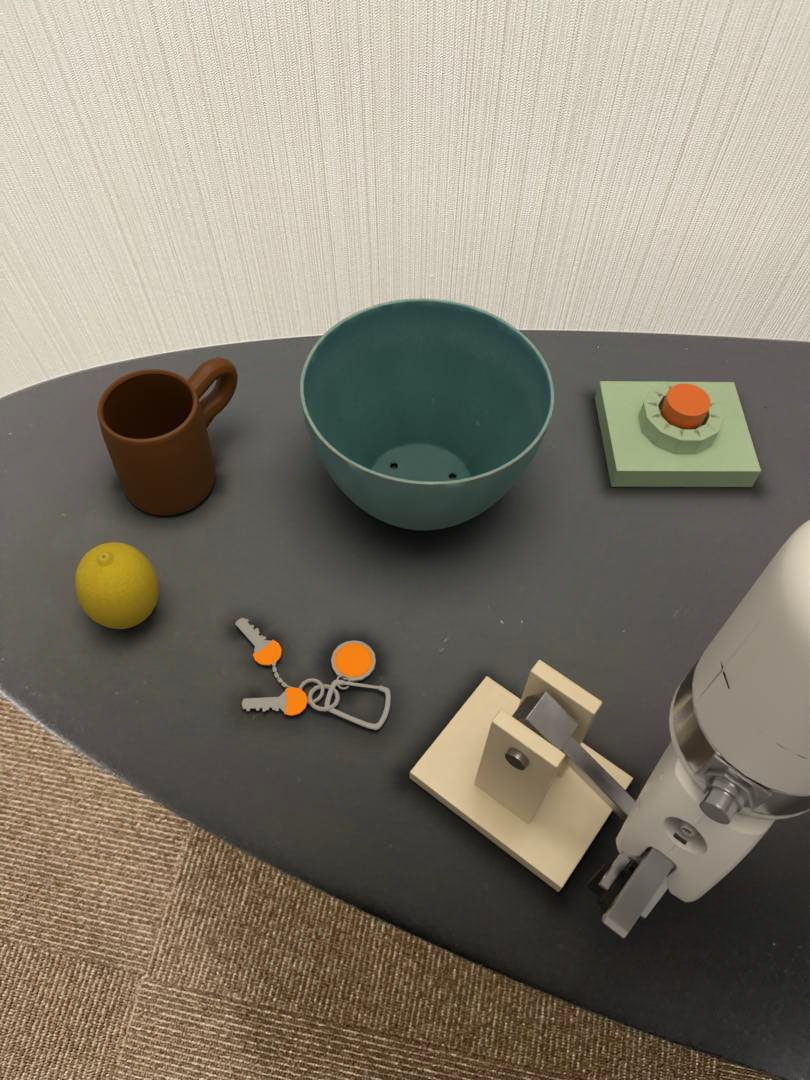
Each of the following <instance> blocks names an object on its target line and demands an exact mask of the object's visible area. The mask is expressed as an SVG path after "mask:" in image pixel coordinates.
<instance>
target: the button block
mask: <svg viewBox="0 0 810 1080" xmlns="http://www.w3.org/2000/svg"><path fill="white" fill-rule="evenodd" d="M682 383H686V384H692V385H695V386H698V387H700V388H701V389H703V390H704V391H705V392H706V393H707V394H708V396H709V398H710V402H711V404H710V408H709V410H708V412H707V415H706V417H705V419H704V421H703V423H702V424H701V425H700V426H699V427H697V428H695V429H680V428H678V427H675V426H673V425H670V424H669V423H668V422H667V421H666V420H665V419H664V418H663V416H662V413H661V408H662V405H663V402H664V400H665V397H666V395H667V392H668V390H669V389H670V388H671V387H673V386H674V385H677V384H682ZM594 403H595V408H596V412H597V418H598V424H599V428H600V429H599V430H600V435H601V439H602V440H601V441H602V446H603V450H604V455H605V462H606V467H607V471H608V479H609V482H610V486H611V488H615V487H616V488H753V486H754V484H755V483H756V482H757V479H758V478H759V476H760V474H761V473H762V469H761V465H760V463H759V459H758V456H757V452H756V450H755V446H754V443H753V440H752V436H751V433H750V429H749V427H748V423H747V420H746V417H745V413H744V409H743V406H742V403H741V400H740V397H739V393H738V391H737V387H736V384H735V382H734V381H645V380H643V381H641V380H640V381H637V380H636V381H635V380H632V381H631V380H630V381H627V380H625V381H624V380H622V381H621V380H620V381H619V380H600V381H599V383H598V385H597V388H596V391H595V395H594Z"/></svg>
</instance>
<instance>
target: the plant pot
mask: <svg viewBox="0 0 810 1080" xmlns="http://www.w3.org/2000/svg"><path fill="white" fill-rule="evenodd" d="M554 388H555V387H554V383H553V377H552V374H551V372H550V369H549V366H548V364H547V362H546V360H545V358H544V357H543V355H542V353H541V352H540V351H539V349H538V348H537V347H536V345H534V343H533V342H532V341H531V340H530V339H529V338H528V337H527V336H526V335H525V334H524V333H523V332H521V331H520V330H519V329H518V328H516V327H515V326H514V325H512V324H511V323H509V322H508V321H506V320H505V319H503V318H501V317H499V316H498V315H495V314H493V313H491V312H489V311H486V310H485V309H481V308H478V307H476V306H473V305H469V304H465V303H461V302H457V301H453V300H448V299H438V298H420V297H419V298H404V299H396V300H390V301H386V302H382V303H378V304H374V305H371V306H368V307H366V308H363V309H361V310H359V311H356V312H354V313H351V314H350V315H348V316H346V317H345V318H343V319H342V320H340V321H338V322H337V323H336V324H334V325H333V326H332V327H330V328H329V329H328V330H327V331H325V332H324V333H323V334H322V335H321V336H320V337H319V338H318V339H317V341H316V342H315V344H314V345H313V346H312V348H311V350H310V351H309V353H308V355H307V357H306V359H305V361H304V365H303V368H302V371H301V375H300V382H299V393H300V402H301V408H302V414H303V417H304V421H305V425H306V428H307V431H308V435H309V437H310V439H311V442H312V444H313V448H314V449H315V451H316V453H317V455H318V458H319V459H320V462H321V463H322V465H323V467H324V468H325V470H326V471H327V474H328V475H329V476H330V478H331V479H332V480H333V482H334V483H335V484H336V485H337V487H338V488H339V489H340V490H341V491H342V493H344V495H345V496H346V497H347V498H348V499H350V500H351V502H352V503H353V504H355V505H356V506H357V507H358V508H360V509H361V510H362V511H364V512H366V513H367V514H369V515H370V516H371V517H373V518H376V519H377V520H379V521H381V522H383V523H386V524H388V525H391V526H394V527H397V528H401V529H405V530H411V531H412V530H413V531H436V530H442V529H443V530H444V529H447V528H451V527H454V526H457V525H461V524H463V523H465V522H467V521H470V520H472V519H475V517H477V516H479V515H481V514H483V513H484V512H485V511H487V510H489V508H491V507H492V506H493V505H495V504H496V503H497V502H499V500H501V499H502V498H503V497H504V496H505V495H506V494H507V493H508V492H509V491H510V490H511V489H512V488H513V487H514V486H515V484H516V483H517V482H518V481H519V479H520V478H521V477H522V475H523V474H524V473H525V472H526V470H527V468H528V467H529V465H530V464H531V462H532V461H533V460H534V458H535V456H536V454H537V452H538V450H539V448H540V446H541V445H542V442H543V440H544V438H545V435H546V433H547V430H548V428H549V424H550V422H551V418H552V415H553V411H554V407H555V389H554ZM392 465H396V466H397V467H396V468H392V467H391V466H392ZM451 475H454V476H455V478H451V477H450V476H451Z"/></svg>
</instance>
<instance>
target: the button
mask: <svg viewBox="0 0 810 1080" xmlns="http://www.w3.org/2000/svg"><path fill="white" fill-rule="evenodd" d="M710 404H711V402H710V398H709V396H708V394H707V393H706V392H705V391H704V390H703V389H701V388H700V387H698V386H695V385H692V384H686V383H682V384H677V385H674V386H673V387H671V388H670V389H669V390H668V392H667V395H666V397H665V400H664V402H663V405H662V408H661V413H662V416H663V418H664V419H665V420H666V421H667V422H668V423H669V424H670V425H673V426H675V427H678V428H680V429H695V428H697V427H699V426H700V425H701V424H702V423H703V421H704V419H705V417H706V415H707V412H708V410H709V408H710Z"/></svg>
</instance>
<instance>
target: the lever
mask: <svg viewBox="0 0 810 1080" xmlns="http://www.w3.org/2000/svg"><path fill="white" fill-rule="evenodd" d="M512 717H513V718H515V719H516V720H518V721H519V722H520V723H522V724H523V725H525V726H526V727H528V728H529V729H530V730H532V731H533V732H535V733H536V734H537V735H539V736H540V737H542V738H543V739H545V740H546V741H547V742H549V743H550V744H552V745H553V746H554V747H556V748H557V749H559V750H560V751H561V752H563V753H564V754H565V758H564V760H563V761H564V762H565V763H566V764H567V765H568V766H569V767H570V768H571V769H572V770H573V771H574V772H575V773H576V774H577V775H578V776H579V777H580V778H581V779H582V780H583V781H584V782H585V783H586V784H587V785H588V786H589V787H590V788H591V789H592V790H593V791H594V792H595V793H596V794H597V795H598V796H599V797H600V798H601V799H602V800H603V801H604V802H605V803H606V804H607V805H608V806H609V807H610V808H611V809H612V812H614V813H615V814H616V815H617V816H618V817H619V818H620V819H621V820H622V821H623V823H624V822H625V820H626V819H627V817H628V815H629V813H630V811H631V810H632V808H633V806H634V804H635V802H636V799H635V798H634V797H633V796H632V795H631V794H630V793H629V792H628V791H627V789H626V790H625V789H624V788H623V787H622V786H621V785H620V784H619V783H618V782H617V781H616V780H615V779H614V778H613V777H612V776H611V775H610V774H609V773H608V772H607V771H606V770H605V769H604V768H603V767H602V766H601V765H600V764H599V763H598V762H597V761H596V760H595V759H594V758H593V757H592V756H591V755H590V754H589V753H588V752H587V751H586V750H585V749H584V748H583V747H582V746H581V745H580V744H579V743H578V742H577V741H576V740H575V739H574V738H573V737H572V734H573V733H574V731H575V730H576V729H577V727H578V726H579V723H578V722H577V721H576V720H575V719H574V718H573V717H572V716H571V715H570V714H569V713H568V712H567V711H566V710H565V709H564V708H563V707H562V706H561V705H560V704H559V703H558V702H557V701H556V700H555V699H554V698H553V697H552V696H551V695H550V694H549V693H548V692H547V691H545V692H542V693H538V694H534V695H531V696H527V697H526V698H525V700H524V701H523V702H522V703H521V705H520V706H519V707H518V709H517V710H516V711H515V713H514V714H513V715H512ZM649 848H650V847H649ZM637 867H638V864H636V863H635V862H634V861H632V860H631V862H630V863H629V864H628V867H627V869H628V871H629V874H630V875H632V874H633V872H634V871H635V869H636V868H637Z"/></svg>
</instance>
